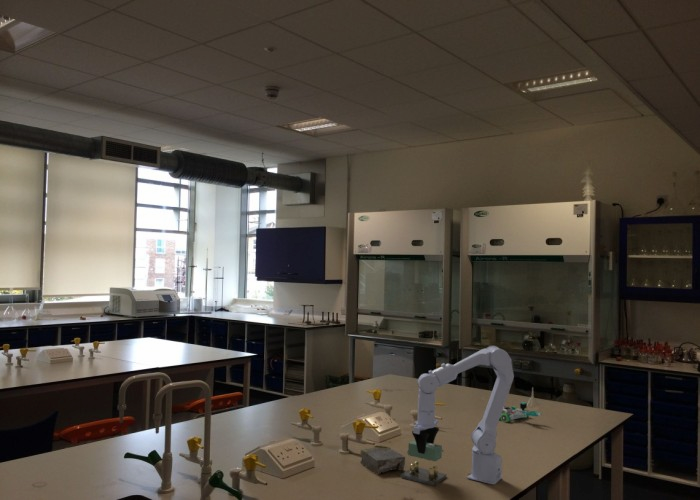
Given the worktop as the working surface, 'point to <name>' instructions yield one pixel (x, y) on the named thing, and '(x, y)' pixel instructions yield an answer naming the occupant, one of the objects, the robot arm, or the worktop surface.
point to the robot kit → (517, 412)
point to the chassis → (423, 474)
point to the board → (426, 451)
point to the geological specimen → (382, 459)
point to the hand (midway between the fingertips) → (425, 450)
